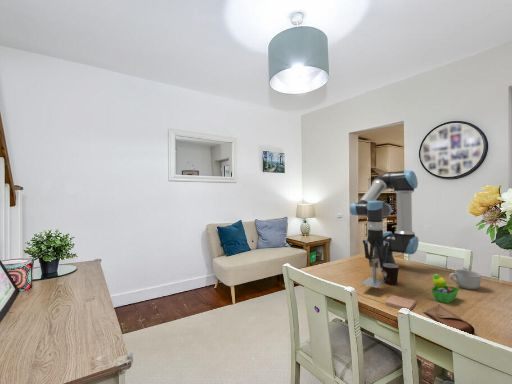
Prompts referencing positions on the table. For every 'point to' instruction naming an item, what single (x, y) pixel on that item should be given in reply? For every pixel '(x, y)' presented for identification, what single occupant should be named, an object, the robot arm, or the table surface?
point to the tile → (400, 302)
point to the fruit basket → (443, 290)
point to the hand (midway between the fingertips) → (376, 272)
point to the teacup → (466, 279)
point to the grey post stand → (373, 281)
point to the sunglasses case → (449, 319)
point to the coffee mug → (390, 273)
